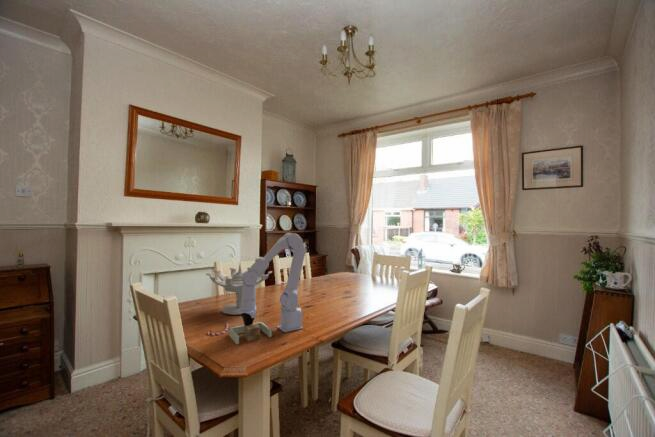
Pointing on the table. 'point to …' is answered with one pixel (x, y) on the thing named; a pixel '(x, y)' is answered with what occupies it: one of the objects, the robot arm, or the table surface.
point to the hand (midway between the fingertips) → (248, 329)
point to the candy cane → (218, 333)
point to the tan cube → (252, 332)
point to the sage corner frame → (241, 329)
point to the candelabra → (235, 288)
